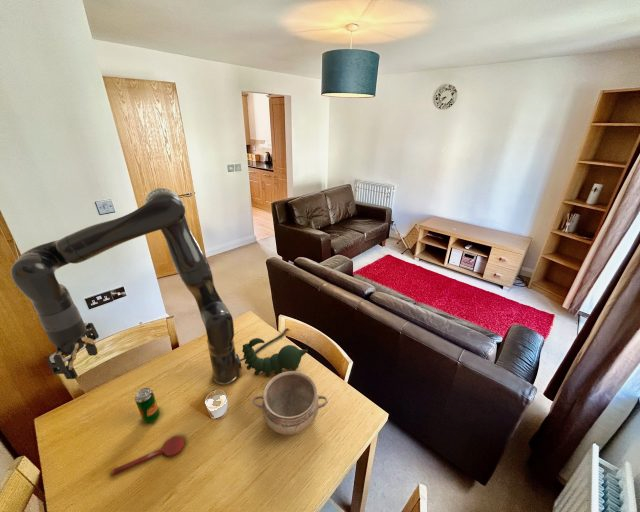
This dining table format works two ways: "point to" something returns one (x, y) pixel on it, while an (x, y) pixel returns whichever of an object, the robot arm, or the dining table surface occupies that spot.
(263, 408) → the cooking pot
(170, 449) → the spoon
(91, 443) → the dining table surface
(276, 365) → the toy figurine
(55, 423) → the dining table surface
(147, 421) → the soda can
